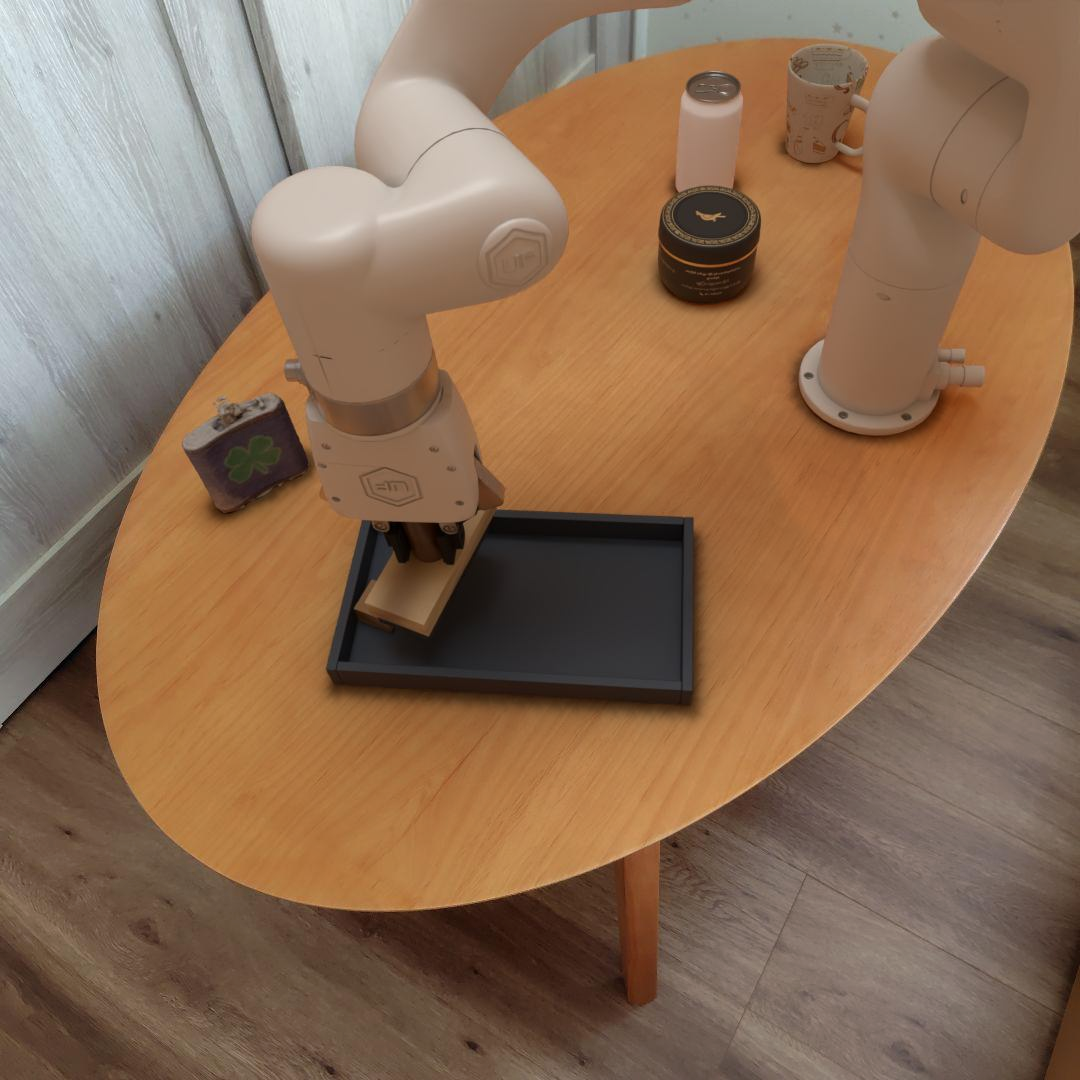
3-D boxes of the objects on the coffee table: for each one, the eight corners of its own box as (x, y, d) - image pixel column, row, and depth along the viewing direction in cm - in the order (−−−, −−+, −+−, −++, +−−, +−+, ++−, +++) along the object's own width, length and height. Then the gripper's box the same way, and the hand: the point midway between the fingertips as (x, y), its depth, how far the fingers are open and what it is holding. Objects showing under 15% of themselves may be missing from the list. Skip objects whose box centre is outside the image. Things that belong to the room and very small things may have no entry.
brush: (499, 518, 76) (483, 448, 68) (432, 645, 71) (406, 586, 63) (444, 500, 77) (422, 429, 69) (374, 623, 72) (342, 562, 64)
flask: (223, 518, 84) (178, 440, 75) (210, 498, 86) (164, 419, 77) (315, 468, 87) (281, 387, 78) (300, 449, 88) (266, 368, 80)
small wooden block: (408, 603, 77) (404, 590, 75) (390, 633, 76) (385, 620, 74) (376, 591, 78) (371, 578, 76) (358, 620, 76) (353, 608, 75)
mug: (806, 118, 112) (821, 35, 104) (894, 161, 107) (918, 76, 99) (760, 149, 110) (772, 66, 101) (849, 195, 104) (869, 110, 96)
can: (730, 207, 104) (742, 105, 94) (671, 203, 105) (677, 101, 95) (735, 172, 108) (747, 69, 98) (678, 168, 109) (685, 66, 99)
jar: (764, 301, 95) (775, 239, 89) (668, 316, 95) (672, 255, 89) (738, 239, 101) (746, 176, 95) (646, 253, 101) (649, 191, 94)
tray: (690, 539, 80) (693, 516, 77) (689, 709, 71) (692, 691, 68) (373, 526, 83) (365, 504, 80) (335, 688, 74) (325, 669, 71)
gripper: (225, 423, 54) (314, 586, 70) (504, 429, 52) (532, 595, 68) (259, 330, 58) (335, 504, 74) (518, 333, 57) (541, 510, 72)
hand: (429, 546), depth 71 cm, fingers closed on brush, 2 cm apart
